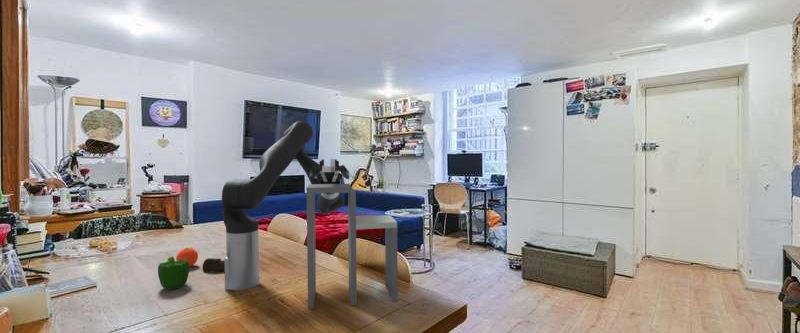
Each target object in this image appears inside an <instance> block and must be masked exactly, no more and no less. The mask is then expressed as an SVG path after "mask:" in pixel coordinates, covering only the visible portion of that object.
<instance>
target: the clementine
mask: <svg viewBox="0 0 800 333" xmlns="http://www.w3.org/2000/svg"><path fill="white" fill-rule="evenodd" d="M198 258H199V254H198V252H197V251H196V250H195V248H193V247H186V248H183V249H182V248H181V250H180V251H179V252H178V253H177V254H176V258H175V261H178V260H180V259H184V260H186V261H188V263H189V268H190V267H192V266H194V265H195V264H196V263H197V261H198Z"/></svg>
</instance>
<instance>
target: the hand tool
mask: <svg viewBox="0 0 800 333" xmlns="http://www.w3.org/2000/svg"><path fill="white" fill-rule="evenodd" d="M201 267H202V271H204V272H210V271H212V272H213V273H217V271H218V272H220V271H225V264H224V260H222V258H215V257H214V258H211V257H210V258H209V257H208V258H206V259H205V260H204V261H203V263H202V266H201ZM212 272H211V273H212Z"/></svg>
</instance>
